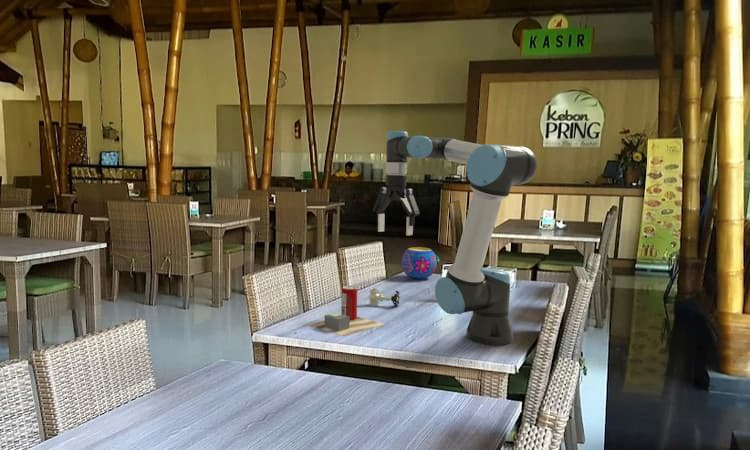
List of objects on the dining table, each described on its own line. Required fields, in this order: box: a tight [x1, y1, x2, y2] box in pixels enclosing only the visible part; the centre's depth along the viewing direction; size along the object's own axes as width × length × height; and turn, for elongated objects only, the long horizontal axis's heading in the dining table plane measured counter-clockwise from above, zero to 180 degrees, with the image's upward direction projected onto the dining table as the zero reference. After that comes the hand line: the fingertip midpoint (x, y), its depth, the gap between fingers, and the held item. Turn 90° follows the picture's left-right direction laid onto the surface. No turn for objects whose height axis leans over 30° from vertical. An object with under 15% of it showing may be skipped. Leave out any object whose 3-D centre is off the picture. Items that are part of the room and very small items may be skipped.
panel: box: [307, 316, 386, 337], centre depth 197 cm, size 18×20×1 cm
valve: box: [368, 287, 401, 308], centre depth 229 cm, size 7×7×12 cm
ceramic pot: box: [401, 247, 440, 280], centre depth 286 cm, size 18×18×15 cm
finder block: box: [324, 312, 350, 331], centre depth 193 cm, size 7×5×4 cm
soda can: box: [340, 285, 358, 321], centre depth 203 cm, size 6×6×12 cm
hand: (395, 233), depth 207 cm, fingers open, 13 cm apart
